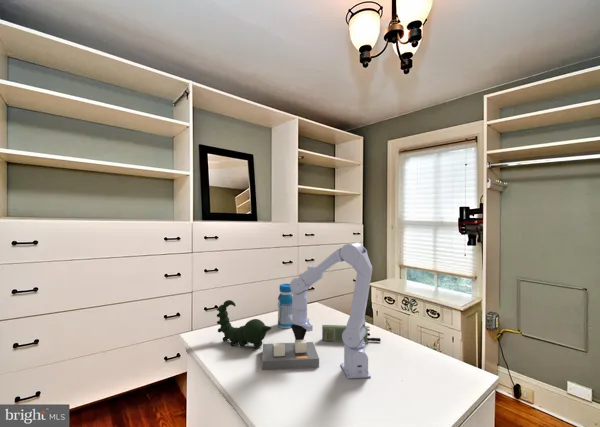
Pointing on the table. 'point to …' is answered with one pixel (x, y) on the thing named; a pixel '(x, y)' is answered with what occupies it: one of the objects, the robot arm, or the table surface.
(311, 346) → the switch panel
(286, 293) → the beverage bottle
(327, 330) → the handheld radio
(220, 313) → the toy figurine
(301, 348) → the tab
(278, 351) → the tab
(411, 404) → the table surface
